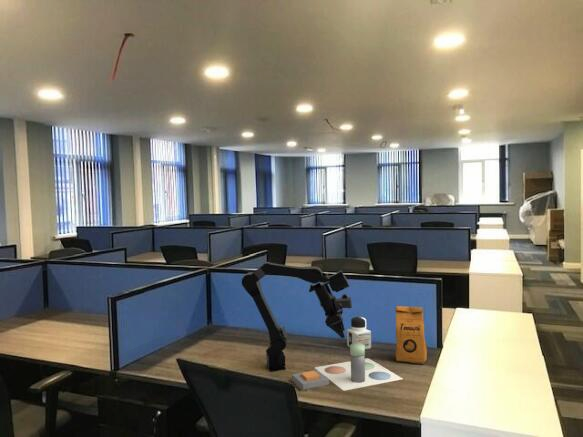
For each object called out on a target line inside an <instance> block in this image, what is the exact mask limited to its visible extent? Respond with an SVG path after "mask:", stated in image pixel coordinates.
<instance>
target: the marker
mask: <svg viewBox="0 0 583 437" xmlns="http://www.w3.org/2000/svg"><path fill="white" fill-rule="evenodd" d="M349 350H350V352H349V353H350V361H351V381H352V382H356V383H362V382H364V381H365V359H366V349H365V345H364V344H360V343H354V344H351V345H350V347H349Z"/></svg>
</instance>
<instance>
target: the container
mask: <svg viewBox="0 0 583 437" xmlns="http://www.w3.org/2000/svg"><path fill="white" fill-rule="evenodd" d="M350 323H351V324H350V327H351V328H347V330H346V335H347V336H346V339H347V340H346V342H347V343H346V344H347V347H349V348H350V345H351V344H354V343H360V344H364V345H365V350H369V349H371V348H372V331H371V330H370V329H367V319H366V317H363V316H354V317H352V318H351V319H350Z"/></svg>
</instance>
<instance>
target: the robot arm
mask: <svg viewBox="0 0 583 437" xmlns="http://www.w3.org/2000/svg"><path fill="white" fill-rule="evenodd" d="M343 272H344V271H342V270H339V271H337V272H336V273H334V274H331V275H329V274H327V273H325V272H323V270H322V269H321V268H320V267H319V266H315V265H314V266H312V265H311V266H300V267H299V266H292V265H287V264H281V263H280V264H279V263H274V262H271V261H266V262H264V263H263V264H262V265H261V266H260V267H259V268H257V269H256V270H254V271H249V272H248V273H246V274H244V276H243V277H242V279H241V285H242V287H243V289H244V290H245V291H246V292H247V294H248V295H249V296H250V297H251V298H252V299H253V301H254V304H255V306H256V308H257V311H258V312H259V314H260V317H261V318H262V320H263V322H264V325H265V327H266V328H267V331H268V335H269V336H268V337H269V341H270V342H269V344H268V346H267V347H266V350H265V352H266V364H265V366H264V367H265V368H266V369H267V370H268V371H269V372H276V371H282V370H286V369H287V367H286V355H285V352H284V350H285V349H286V347H287V345H288V341H289V333H288V332H287V331H286V327H285V326H284V325H283V326H280V325H279V324H278V322H277V320H276V318H275V316H274V314H273V312H272V310H271V307H270V306H269V304H268V301H267V299H266V298H265V295H264V293H263V290H262V283H261V280H262V278H264V277H265V276H266V275H268V274H273V275H277V276H278V275H279V276H285V277H291V278H298V279H299V280H300V279H301V280H302V281H305V282H308V283H310V285H309V286H310V287H309V290H308V292H309V293H312V292H315V296H316V298H317V299H318V302H319V305H320V307H321V308H322V310H323V312H324V315H325V319H324V320H325V321H324V323H325V325H326V327H328V328H330V330H332V331H333V332H334V333H336V334H337V335H338V336H339V338H341V339H343V338H345V333H344V331H345V330H346V329H345V326H344V325H345V324H344V323H343V321H344V320H343V319H344V318H343V313H344V310H343V309H352V308H353V306H352V305H353V304H352V298H351V296H349V297H348V295H347V294H345V293H344V294H342V295H341V297H339V298H336V295H334V294H333V293H332V292H336V293H339V292H341V291H343V290H345V289H347V288H349V287H350V286H351V285H350V283H349V281H348V279H347V277H346V276H345V274H344V273H343Z"/></svg>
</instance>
